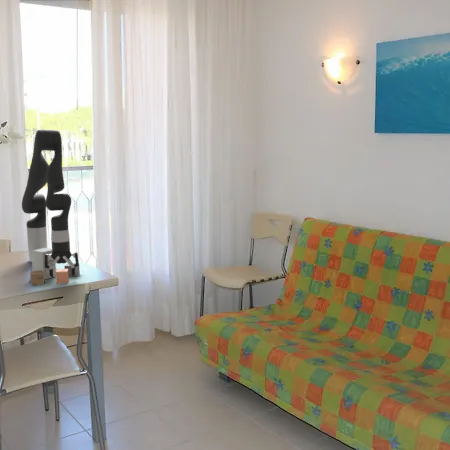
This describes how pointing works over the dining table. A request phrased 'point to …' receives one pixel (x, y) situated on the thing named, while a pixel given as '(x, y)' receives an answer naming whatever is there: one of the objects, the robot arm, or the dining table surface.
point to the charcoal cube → (71, 270)
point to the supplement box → (42, 262)
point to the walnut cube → (36, 277)
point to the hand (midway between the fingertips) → (62, 276)
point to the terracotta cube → (62, 276)
